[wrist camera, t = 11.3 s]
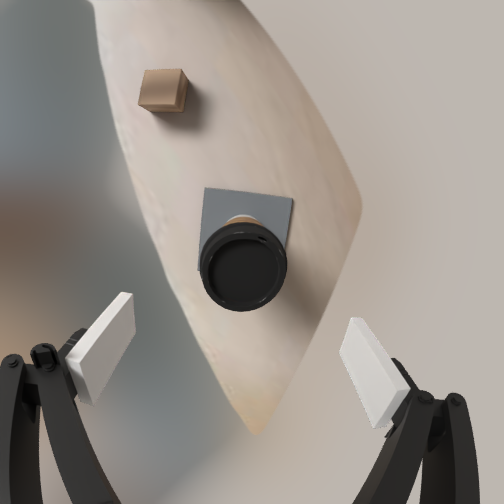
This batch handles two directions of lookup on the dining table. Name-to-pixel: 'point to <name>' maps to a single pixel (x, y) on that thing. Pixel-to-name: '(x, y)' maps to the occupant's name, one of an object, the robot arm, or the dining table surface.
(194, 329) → the dining table surface
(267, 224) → the slate coaster
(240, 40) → the dining table surface
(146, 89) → the walnut block
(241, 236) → the coffee cup
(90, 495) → the robot arm
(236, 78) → the dining table surface
